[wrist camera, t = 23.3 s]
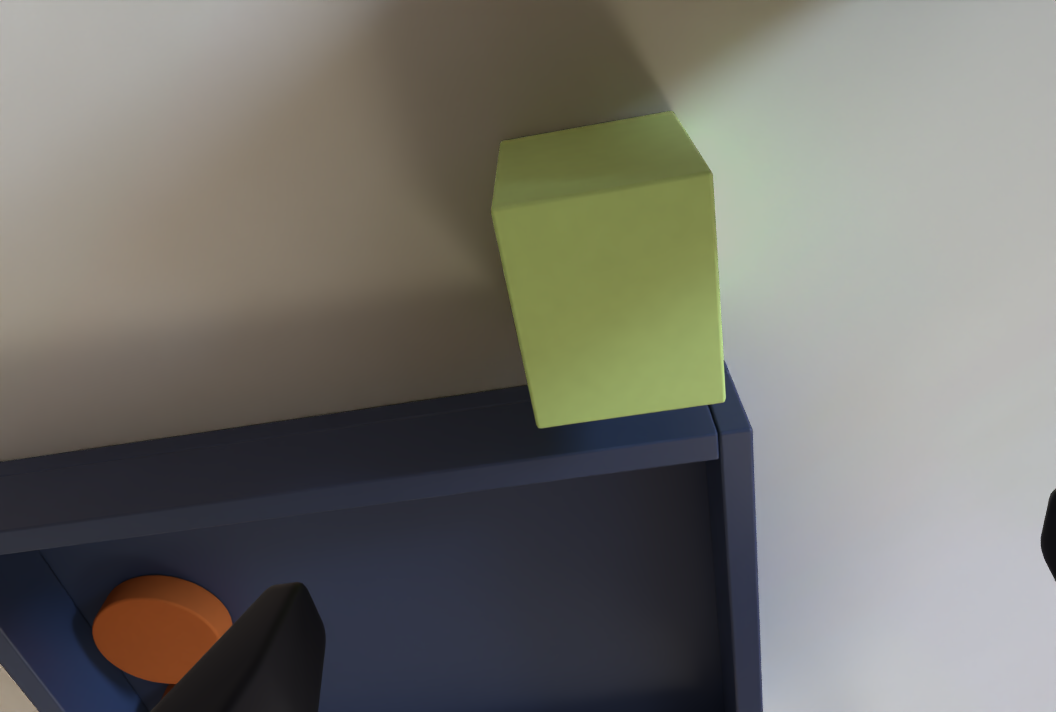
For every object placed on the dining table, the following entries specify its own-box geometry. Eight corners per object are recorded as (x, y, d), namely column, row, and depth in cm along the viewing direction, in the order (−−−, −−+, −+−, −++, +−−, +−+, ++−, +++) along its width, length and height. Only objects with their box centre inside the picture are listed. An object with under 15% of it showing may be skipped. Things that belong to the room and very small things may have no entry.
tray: (723, 355, 21) (753, 428, 18) (743, 713, 29) (766, 804, 26) (-19, 463, 23) (-97, 544, 20) (190, 770, 31) (155, 859, 28)
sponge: (673, 109, 17) (713, 171, 14) (689, 304, 20) (726, 403, 16) (499, 140, 18) (489, 209, 14) (536, 328, 20) (536, 430, 16)
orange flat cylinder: (205, 566, 24) (193, 591, 23) (251, 651, 26) (242, 678, 25) (84, 581, 24) (67, 607, 23) (138, 664, 26) (125, 691, 25)
